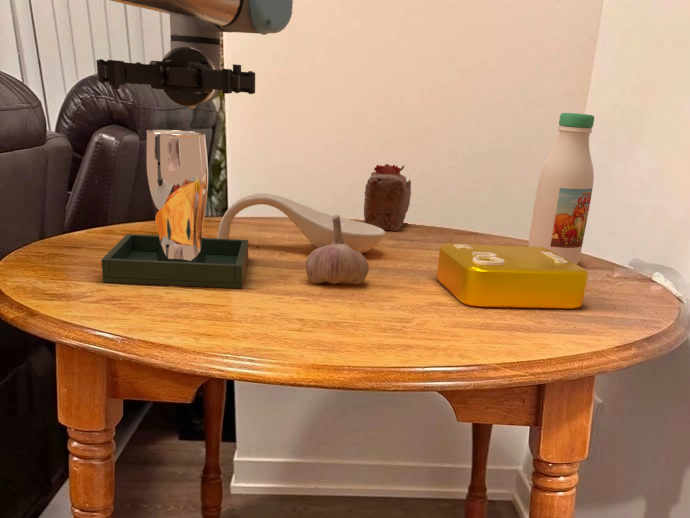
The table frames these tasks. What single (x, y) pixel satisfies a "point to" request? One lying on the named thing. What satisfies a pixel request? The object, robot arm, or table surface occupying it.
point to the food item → (387, 198)
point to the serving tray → (176, 264)
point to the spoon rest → (309, 223)
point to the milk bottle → (565, 190)
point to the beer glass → (178, 192)
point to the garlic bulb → (336, 261)
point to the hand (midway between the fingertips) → (168, 76)
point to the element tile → (511, 276)
